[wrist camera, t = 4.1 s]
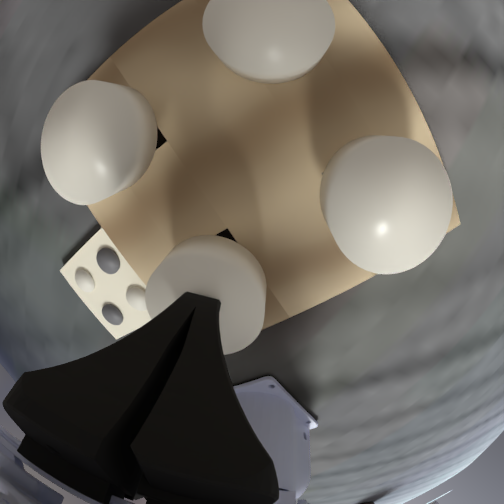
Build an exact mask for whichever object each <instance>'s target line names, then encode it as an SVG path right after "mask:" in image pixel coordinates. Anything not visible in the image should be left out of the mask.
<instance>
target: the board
mask: <svg viewBox="0 0 504 504" xmlns="http://www.w3.org/2000/svg"><path fill="white" fill-rule="evenodd" d="M209 1H210V0H182V1H180V2H179V3H177V4H176V5H174V6H173V7H171V8H170V9H168V10H167V11H166V12H164V13H163V14H161V15H160V16H159V17H157V18H156V19H154V20H153V21H152V22H150V23H149V24H148V25H147V26H145V27H144V28H143V29H141V30H140V31H139V32H138V33H136V34H135V35H134V36H133V37H132V38H130V39H129V40H128V41H127V42H126V43H125V44H124V45H122V46H121V47H120V48H119V49H118V50H117V51H116V52H115V53H114V54H113V55H111V56H110V57H109V58H108V59H107V60H106V61H105V62H104V63H103V64H102V65H101V66H100V67H99V68H98V69H97V70H96V71H95V72H94V73H93V74H92V75H91V76H90V78H89V79H88V80H98V81H104V82H109V83H114V84H119V85H124V86H128V87H131V88H133V89H135V90H137V91H138V92H140V93H141V94H142V95H143V96H144V97H145V98H146V99H147V101H148V102H149V104H150V105H151V107H152V109H153V112H154V114H155V118H156V122H157V127H158V128H159V130H160V131H161V133H162V134H163V136H164V137H165V138H166V140H167V142H165V143H164V144H163V145H162V146H160V147H159V148H158V149H157V150H156V151H155V153H154V156H153V159H152V161H151V164H150V166H149V167H148V169H147V171H146V172H145V173H144V175H143V176H142V177H141V178H140V179H139V180H138V181H137V182H136V183H135V184H133V185H132V186H131V187H129V188H127V189H125V190H123V191H121V192H118V193H116V194H114V195H112V196H110V197H108V198H106V199H104V200H102V201H99V202H97V203H94V204H90V205H87V206H88V207H89V209H90V210H91V212H92V213H93V215H94V216H95V218H96V219H97V221H98V222H99V224H100V225H101V227H102V228H103V230H104V231H105V232H106V234H107V235H108V237H109V238H110V239H111V241H112V242H113V244H114V245H115V246H116V248H117V249H118V250H119V252H120V253H121V254H122V256H123V257H124V258H125V260H126V261H127V262H128V264H129V265H130V266H131V267H132V269H133V270H134V271H135V273H136V274H137V275H138V276H139V278H140V279H141V280H142V281H143V283H144V284H145V285H146V286H147V283H148V280H149V278H150V277H151V275H152V273H153V272H154V271H155V270H156V268H157V267H158V266H159V265H160V263H161V262H162V261H163V260H164V259H165V257H166V256H167V255H168V254H169V252H170V251H171V250H172V249H173V248H174V247H175V246H176V245H178V244H179V243H180V242H182V241H184V240H186V239H188V238H191V237H195V236H200V235H217V234H218V233H220V232H222V231H223V230H225V229H226V228H228V230H229V231H230V233H231V234H232V235H233V237H234V238H235V240H236V241H237V243H239V244H240V245H242V246H243V247H245V248H246V249H247V250H249V251H250V252H251V253H252V254H253V255H254V257H255V258H256V259H257V260H258V262H259V264H260V265H261V267H262V269H263V272H264V274H265V278H266V285H267V287H266V302H265V314H264V322H263V327H262V329H261V330H263V329H265V328H267V327H270V326H272V325H274V324H277V323H279V322H281V321H283V320H286V319H288V318H290V317H292V316H294V315H297V314H299V313H301V312H303V311H305V310H307V309H309V308H312V307H314V306H316V305H318V304H320V303H322V302H324V301H326V300H328V299H330V298H332V297H334V296H336V295H338V294H340V293H342V292H344V291H346V290H348V289H350V288H352V287H354V286H356V285H358V284H360V283H362V282H363V281H365V280H367V279H369V278H371V277H373V276H375V275H376V274H378V273H373V272H369V271H366V270H364V269H362V268H360V267H358V266H357V265H355V264H354V263H352V262H351V261H350V260H349V259H348V258H347V257H346V256H345V255H344V254H343V252H342V251H341V250H340V248H339V246H338V245H337V243H336V241H335V239H334V237H333V235H332V233H331V231H330V229H329V227H328V225H327V223H326V221H325V219H324V217H323V214H322V210H321V205H320V185H321V180H322V176H323V175H322V173H323V172H324V170H325V168H326V166H327V164H328V163H329V161H330V160H331V158H332V157H333V155H334V154H335V153H336V152H337V151H338V150H339V149H340V148H341V147H343V146H344V145H345V144H347V143H349V142H350V141H352V140H354V139H357V138H360V137H363V136H369V135H383V136H396V137H404V138H409V139H412V140H415V141H417V142H419V143H421V144H423V145H424V146H426V147H427V148H428V149H430V150H431V151H432V152H433V153H434V154H435V155H436V156H437V157H438V159H439V160H440V161H441V163H442V160H441V157H440V154H439V152H438V149H437V147H436V144H435V142H434V139H433V137H432V134H431V132H430V130H429V127H428V125H427V123H426V121H425V119H424V116H423V114H422V112H421V110H420V108H419V106H418V104H417V102H416V100H415V98H414V96H413V94H412V92H411V91H410V89H409V87H408V85H407V83H406V81H405V80H404V78H403V76H402V74H401V73H400V71H399V69H398V68H397V66H396V65H395V63H394V61H393V60H392V58H391V57H390V55H389V53H388V52H387V50H386V49H385V47H384V46H383V44H382V43H381V42H380V40H379V39H378V37H377V36H376V35H375V33H374V32H373V30H372V29H371V28H370V26H369V25H368V24H367V22H366V21H365V20H364V19H363V17H362V16H361V15H360V14H359V12H358V11H357V10H356V9H355V8H354V6H353V5H352V4H351V3H350V2H349V1H348V0H327V2H328V3H329V5H330V7H331V9H332V11H333V14H334V18H335V33H334V37H333V40H332V42H331V44H330V46H329V47H328V49H327V51H326V52H325V54H324V55H323V57H322V59H321V60H320V62H319V63H318V64H317V65H316V67H315V68H314V69H313V70H311V71H310V72H309V73H307V74H306V75H304V76H302V77H300V78H298V79H296V80H292V81H289V82H284V83H277V84H265V83H258V82H254V81H250V80H247V79H244V78H242V77H240V76H238V75H236V74H235V73H233V72H232V71H231V70H230V69H228V68H227V67H226V66H225V65H224V64H223V62H222V61H221V60H220V59H219V58H218V56H217V55H216V54H215V53H214V52H213V50H212V49H211V48H210V46H209V45H208V43H207V41H206V39H205V36H204V33H203V26H202V22H203V15H204V11H205V9H206V7H207V5H208V3H209ZM442 164H443V163H442ZM443 166H444V165H443ZM452 195H453V194H452ZM458 225H460V220H459V216H458V212H457V208H456V204H455V201H454V197H453V207H452V215H451V220H450V223H449V226H448V229H447V231H446V233H448V232H449V231H451V230H452V229H454V228H455V227H457V226H458Z"/></svg>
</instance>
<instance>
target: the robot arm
mask: <svg viewBox="0 0 504 504" xmlns="http://www.w3.org/2000/svg"><path fill="white" fill-rule="evenodd" d="M220 307H221V302H220V300H219V299H215V298H211V297H207V296H203V295H199V294H195V293H191V292H185V293H183V294H182V295H181V296H180V297H179V298H178V299H177V300H175V301H174V302H173V303H172V304H171V305H170V306H168V307H167V308H166V309H165V310H163V311H162V312H161V313H160V314H158V315H157V316H156V317H154V318H153V319H152V320H150V321H149V322H148V323H146V324H145V325H143V326H142V327H140V328H139V329H137V330H136V331H134V332H133V333H131V334H129V335H128V336H126V337H125V338H123V339H121V340H119V341H117V342H116V343H114V344H112V345H110V346H108V347H106V348H104V349H102V350H99V351H97V352H95V353H93V354H90V355H88V356H86V357H83V358H80V359H77V360H74V361H71V362H68V363H65V364H62V365H58V366H54V367H50V368H45V369H41V370H36V371H31V372H24V374H23V375H22V376H21V377H20V378H19V380H18V381H17V382H16V383H15V385H14V386H13V388H12V389H11V391H10V392H9V393H8V395H7V396H6V398H5V400H4V401H3V407H4V409H5V411H6V412H7V413H8V415H9V416H10V417H11V418H12V419H13V421H14V422H15V423H16V424H17V425H18V426H19V427H20V429H21V430H22V431H23V432H24V433H25V434H26V435H25V437H24V439H23V440H22V442H21V441H19V440H18V439H17V438H16V437H14V436H13V435H12V434H11V433H9V432H8V431H7V430H6V429H5V428H4V427H2V426H1V425H0V504H61V503H62V501H63V499H64V497H63V496H62V495H61V494H59V493H57V492H56V491H54V490H53V489H51V488H50V487H48V486H47V485H45V484H44V483H42V482H41V481H39V480H38V479H36V478H34V477H33V476H32V475H30V474H29V473H28V472H26V471H25V469H24V467H23V463H22V462H24V463H25V464H26V465H28V466H29V467H30V468H32V469H33V470H34V471H36V472H38V473H39V474H40V475H42V476H43V477H45V478H46V479H48V480H49V481H51V482H52V483H54V484H56V485H57V486H59V487H61V488H62V489H64V490H66V491H67V492H69V493H71V494H73V495H74V496H77V497H78V498H80V499H82V500H84V501H86V502H88V503H90V504H134V503H131V502H128V501H126V500H124V497H125V498H127V499H130V500H134V499H135V500H137V499H140V498H143V497H144V498H145V499H146V500H147V502H146V504H296V499H297V498H299V497H300V496H301V495H302V494H303V493H304V491H305V490H306V489H307V487H308V485H309V482H310V478H311V465H310V435H309V429H312V428H316V427H317V426H318V422H317V421H316V420H315V419H314V418H313V417H312V416H311V415H310V414H309V413H308V412H307V411H306V410H305V409H304V408H303V407H302V406H301V405H300V404H299V403H298V402H297V401H296V400H295V399H294V398H293V397H292V396H291V395H290V394H289V393H288V392H287V391H286V390H285V389H284V388H283V387H282V386H281V385H280V384H279V383H278V382H277V381H276V379H275V378H273V377H271V376H265V377H262V378H259V379H256V380H253V381H250V382H247V383H244V384H240V385H237V386H234V387H233V385H232V382H231V379H230V376H229V373H228V370H227V366H226V362H225V358H224V354H223V349H222V343H221V336H220V327H219V312H220ZM297 504H309V503H307V501H306V500H298V503H297ZM430 504H438V502H433V503H430Z"/></svg>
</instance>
